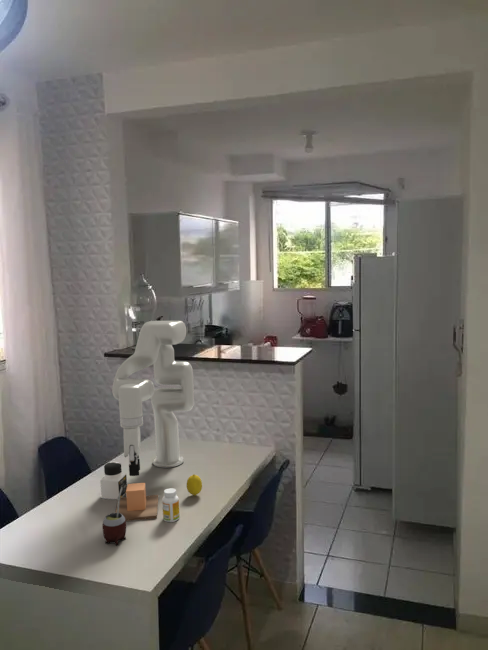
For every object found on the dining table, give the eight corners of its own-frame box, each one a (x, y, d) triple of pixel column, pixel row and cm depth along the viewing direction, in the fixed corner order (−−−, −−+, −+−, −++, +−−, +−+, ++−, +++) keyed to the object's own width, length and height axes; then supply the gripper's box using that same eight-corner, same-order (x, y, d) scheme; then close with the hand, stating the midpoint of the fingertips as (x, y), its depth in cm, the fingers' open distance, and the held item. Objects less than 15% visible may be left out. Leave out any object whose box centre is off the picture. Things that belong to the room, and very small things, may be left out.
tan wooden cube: (128, 503, 196) (127, 483, 195) (146, 501, 197) (145, 482, 196) (127, 510, 190) (126, 491, 189) (145, 509, 191) (144, 489, 190)
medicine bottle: (119, 499, 201) (117, 467, 200) (101, 498, 203) (98, 466, 201) (127, 491, 208) (125, 460, 207) (109, 490, 210) (107, 459, 208)
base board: (118, 500, 201) (118, 497, 201) (158, 497, 202) (158, 494, 202) (113, 522, 185) (113, 519, 185) (156, 518, 187) (156, 515, 186)
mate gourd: (106, 549, 168) (102, 501, 166) (101, 537, 176) (98, 491, 173) (130, 543, 171) (127, 496, 169) (125, 531, 178) (122, 486, 176)
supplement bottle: (179, 513, 189) (177, 486, 188) (180, 521, 184) (178, 493, 183) (162, 515, 188) (161, 488, 187) (163, 523, 183) (162, 495, 182)
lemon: (183, 496, 203) (182, 475, 202) (195, 491, 207) (194, 470, 206) (194, 500, 199) (193, 478, 198) (205, 495, 203) (204, 474, 202)
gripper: (122, 414, 197) (125, 464, 200) (117, 429, 181) (121, 483, 183) (144, 413, 198) (147, 462, 200) (141, 427, 182) (144, 482, 184)
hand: (134, 472), depth 192 cm, fingers open, 3 cm apart
